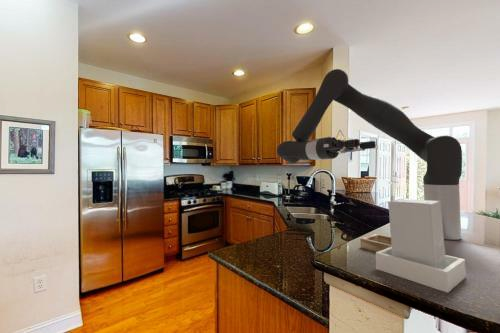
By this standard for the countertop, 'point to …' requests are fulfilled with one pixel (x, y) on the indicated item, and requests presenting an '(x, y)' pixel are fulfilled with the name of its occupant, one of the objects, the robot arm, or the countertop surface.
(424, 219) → the skincare box
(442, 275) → the tray
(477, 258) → the countertop surface
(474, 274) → the countertop surface
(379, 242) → the holder
